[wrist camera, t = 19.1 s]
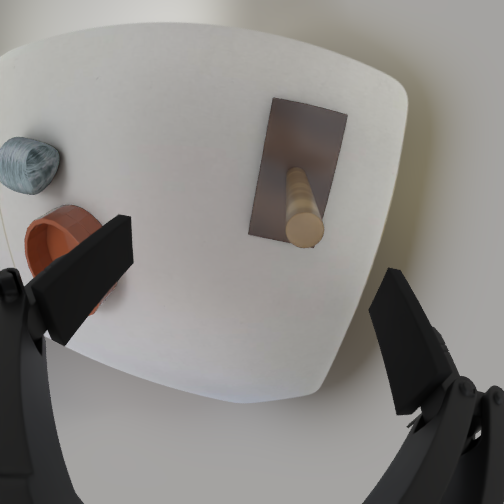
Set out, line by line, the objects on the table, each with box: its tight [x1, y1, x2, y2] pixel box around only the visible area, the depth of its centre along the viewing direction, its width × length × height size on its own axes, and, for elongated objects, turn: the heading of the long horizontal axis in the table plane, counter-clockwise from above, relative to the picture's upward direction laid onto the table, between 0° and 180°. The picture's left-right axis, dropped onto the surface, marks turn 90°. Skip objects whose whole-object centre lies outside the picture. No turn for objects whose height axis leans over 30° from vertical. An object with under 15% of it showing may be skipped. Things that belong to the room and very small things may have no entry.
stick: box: [285, 167, 324, 248], centre depth 22 cm, size 2×2×15 cm
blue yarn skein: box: [0, 137, 59, 195], centre depth 28 cm, size 14×10×10 cm
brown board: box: [248, 98, 348, 248], centre depth 29 cm, size 16×8×2 cm, turn 170°
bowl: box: [25, 205, 118, 316], centre depth 36 cm, size 18×18×6 cm
